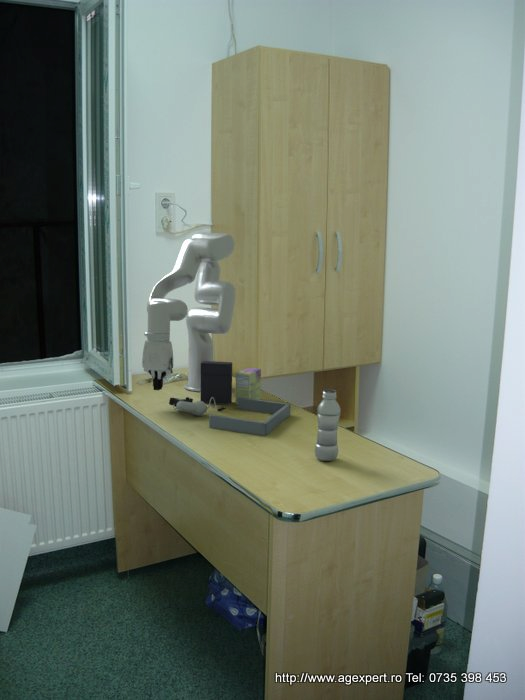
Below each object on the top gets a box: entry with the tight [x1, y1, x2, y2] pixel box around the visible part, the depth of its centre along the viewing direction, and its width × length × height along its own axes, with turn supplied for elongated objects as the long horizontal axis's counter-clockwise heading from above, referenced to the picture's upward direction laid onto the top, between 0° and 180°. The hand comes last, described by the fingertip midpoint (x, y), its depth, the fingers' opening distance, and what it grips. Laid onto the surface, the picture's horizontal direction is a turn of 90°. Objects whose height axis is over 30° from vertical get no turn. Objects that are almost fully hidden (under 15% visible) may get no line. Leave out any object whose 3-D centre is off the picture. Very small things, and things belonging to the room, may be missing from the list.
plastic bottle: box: [314, 389, 342, 462], centre depth 189 cm, size 6×7×20 cm
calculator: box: [200, 360, 233, 405], centre depth 243 cm, size 11×4×15 cm, turn 84°
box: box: [234, 367, 262, 405], centre depth 246 cm, size 10×6×12 cm, turn 156°
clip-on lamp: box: [168, 396, 227, 417], centre depth 232 cm, size 12×6×18 cm
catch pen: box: [208, 397, 292, 437], centre depth 224 cm, size 24×19×4 cm
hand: (157, 389), depth 234 cm, fingers closed
